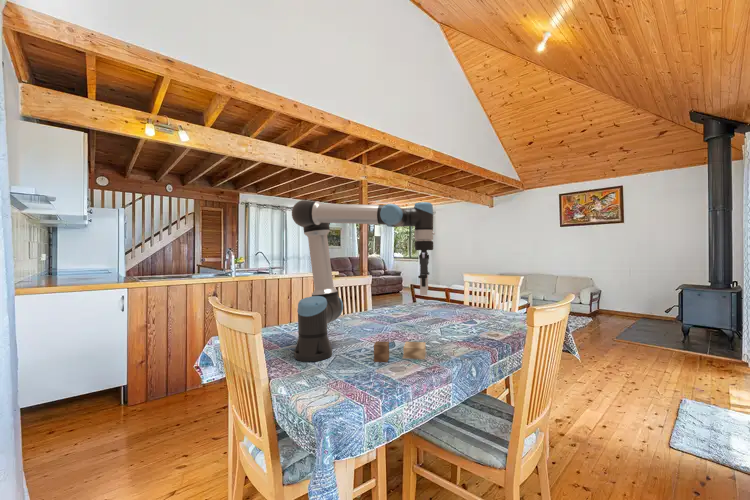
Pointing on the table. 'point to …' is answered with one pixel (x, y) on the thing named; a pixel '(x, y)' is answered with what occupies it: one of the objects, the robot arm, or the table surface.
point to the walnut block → (381, 351)
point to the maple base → (415, 350)
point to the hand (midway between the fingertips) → (424, 292)
